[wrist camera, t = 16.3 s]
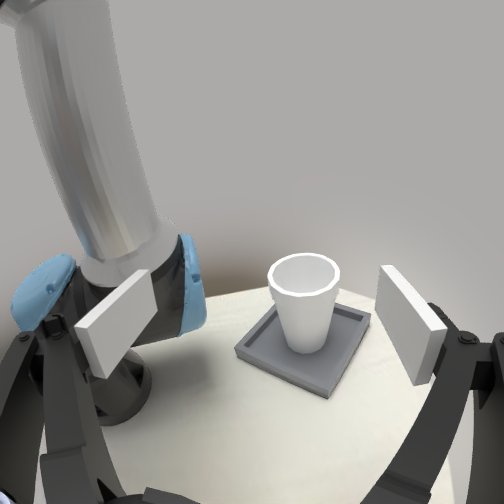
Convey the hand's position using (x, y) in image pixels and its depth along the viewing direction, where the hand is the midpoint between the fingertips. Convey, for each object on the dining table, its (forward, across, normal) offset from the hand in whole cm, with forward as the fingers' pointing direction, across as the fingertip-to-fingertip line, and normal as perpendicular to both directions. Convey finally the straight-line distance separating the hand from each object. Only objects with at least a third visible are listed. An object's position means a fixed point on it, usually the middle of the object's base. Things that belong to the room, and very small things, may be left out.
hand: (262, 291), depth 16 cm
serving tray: (+24, +5, -21) cm, 32 cm away
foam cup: (+24, +4, -20) cm, 31 cm away
